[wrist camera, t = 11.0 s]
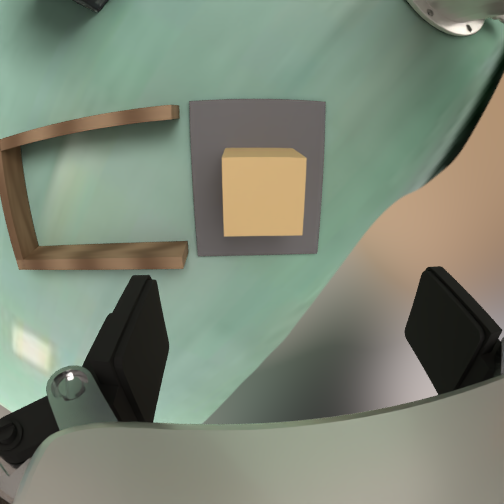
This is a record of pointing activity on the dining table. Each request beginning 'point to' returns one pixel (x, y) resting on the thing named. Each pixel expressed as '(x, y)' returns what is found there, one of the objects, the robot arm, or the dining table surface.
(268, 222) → the ochre cube
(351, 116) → the dining table surface
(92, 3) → the small box
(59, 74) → the dining table surface
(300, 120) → the charcoal mat
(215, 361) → the dining table surface
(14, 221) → the walnut cubby
